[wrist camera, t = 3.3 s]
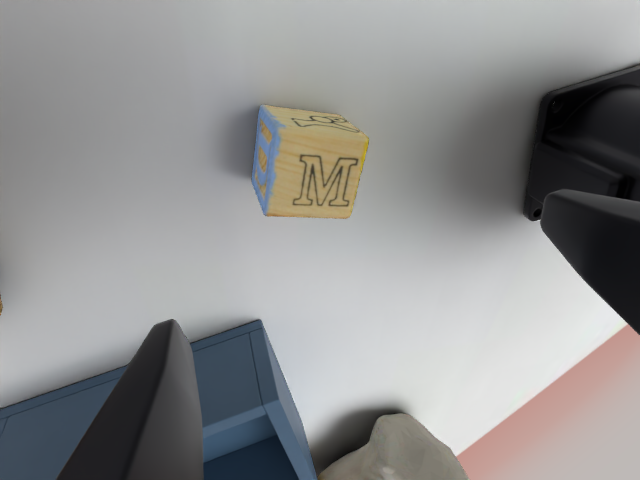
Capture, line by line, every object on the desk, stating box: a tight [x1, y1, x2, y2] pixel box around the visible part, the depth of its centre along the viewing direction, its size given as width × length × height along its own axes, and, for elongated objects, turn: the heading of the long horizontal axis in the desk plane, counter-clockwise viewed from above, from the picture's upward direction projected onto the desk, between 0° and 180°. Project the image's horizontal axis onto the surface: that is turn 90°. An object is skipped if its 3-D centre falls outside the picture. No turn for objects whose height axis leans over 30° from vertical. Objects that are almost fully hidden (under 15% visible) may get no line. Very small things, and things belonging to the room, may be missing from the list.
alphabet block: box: [252, 105, 369, 219], centre depth 14 cm, size 3×3×3 cm
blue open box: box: [0, 320, 317, 480], centre depth 20 cm, size 12×10×5 cm
